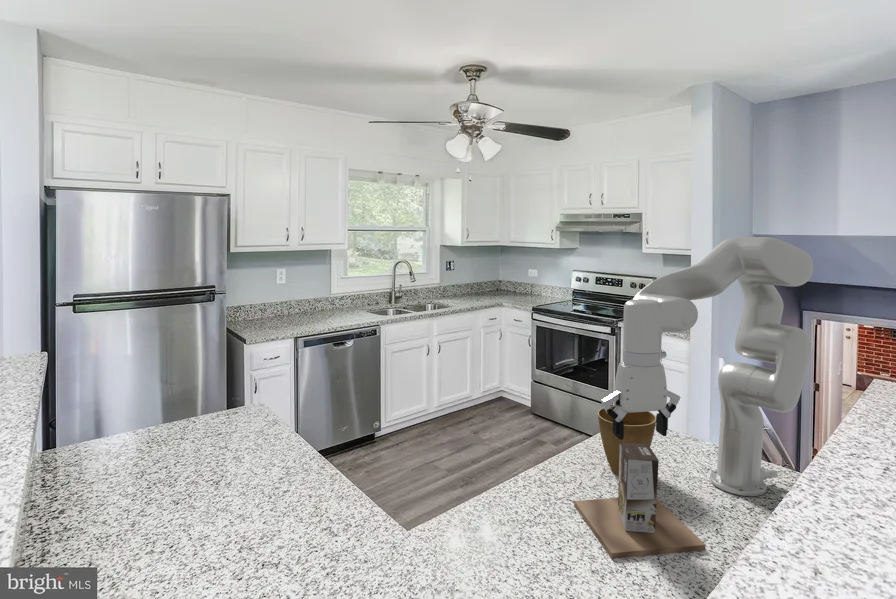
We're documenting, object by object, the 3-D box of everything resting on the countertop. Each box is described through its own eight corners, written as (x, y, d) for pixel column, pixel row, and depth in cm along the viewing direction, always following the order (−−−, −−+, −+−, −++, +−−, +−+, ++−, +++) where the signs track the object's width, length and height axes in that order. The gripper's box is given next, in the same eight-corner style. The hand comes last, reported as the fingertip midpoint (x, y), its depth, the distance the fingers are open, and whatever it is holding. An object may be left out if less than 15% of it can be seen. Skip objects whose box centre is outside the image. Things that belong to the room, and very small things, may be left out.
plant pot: (595, 456, 146) (597, 403, 144) (650, 462, 142) (653, 407, 140) (596, 480, 132) (597, 421, 130) (657, 487, 128) (660, 427, 126)
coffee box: (656, 534, 106) (659, 461, 104) (624, 531, 107) (627, 459, 105) (646, 510, 115) (649, 443, 113) (616, 508, 116) (619, 441, 114)
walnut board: (653, 499, 122) (653, 494, 122) (705, 550, 102) (705, 544, 102) (574, 505, 119) (574, 500, 119) (611, 558, 100) (611, 553, 100)
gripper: (670, 351, 111) (668, 425, 113) (595, 356, 109) (594, 431, 111) (690, 360, 104) (687, 439, 106) (610, 365, 101) (609, 446, 104)
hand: (640, 435), depth 109 cm, fingers open, 9 cm apart
